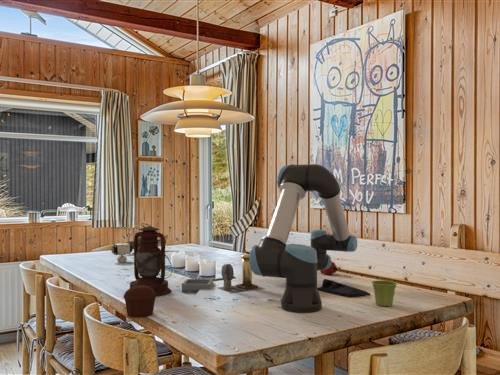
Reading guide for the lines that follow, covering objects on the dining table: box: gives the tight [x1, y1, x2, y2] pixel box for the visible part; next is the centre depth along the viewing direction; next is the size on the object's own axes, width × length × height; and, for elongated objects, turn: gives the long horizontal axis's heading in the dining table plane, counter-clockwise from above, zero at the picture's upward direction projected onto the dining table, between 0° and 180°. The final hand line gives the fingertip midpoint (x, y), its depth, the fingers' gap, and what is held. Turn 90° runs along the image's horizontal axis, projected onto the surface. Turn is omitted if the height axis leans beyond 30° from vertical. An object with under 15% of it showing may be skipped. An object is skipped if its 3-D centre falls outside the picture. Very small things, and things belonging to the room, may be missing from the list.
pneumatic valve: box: [110, 241, 134, 263], centre depth 296 cm, size 6×12×12 cm, turn 125°
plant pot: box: [371, 279, 398, 307], centre depth 188 cm, size 9×9×9 cm
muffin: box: [122, 285, 157, 319], centre depth 174 cm, size 12×11×10 cm
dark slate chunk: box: [317, 278, 371, 298], centre depth 212 cm, size 15×22×5 cm
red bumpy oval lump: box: [319, 261, 338, 276], centre depth 254 cm, size 8×8×12 cm
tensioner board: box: [217, 263, 266, 294], centre depth 212 cm, size 13×17×12 cm
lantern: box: [129, 222, 173, 298], centre depth 211 cm, size 19×19×30 cm
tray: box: [181, 278, 214, 293], centre depth 217 cm, size 12×12×4 cm
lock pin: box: [240, 254, 253, 287], centre depth 214 cm, size 5×5×14 cm
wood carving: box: [123, 234, 169, 250], centre depth 341 cm, size 9×35×11 cm, turn 132°
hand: (265, 268), depth 219 cm, fingers open, 13 cm apart
